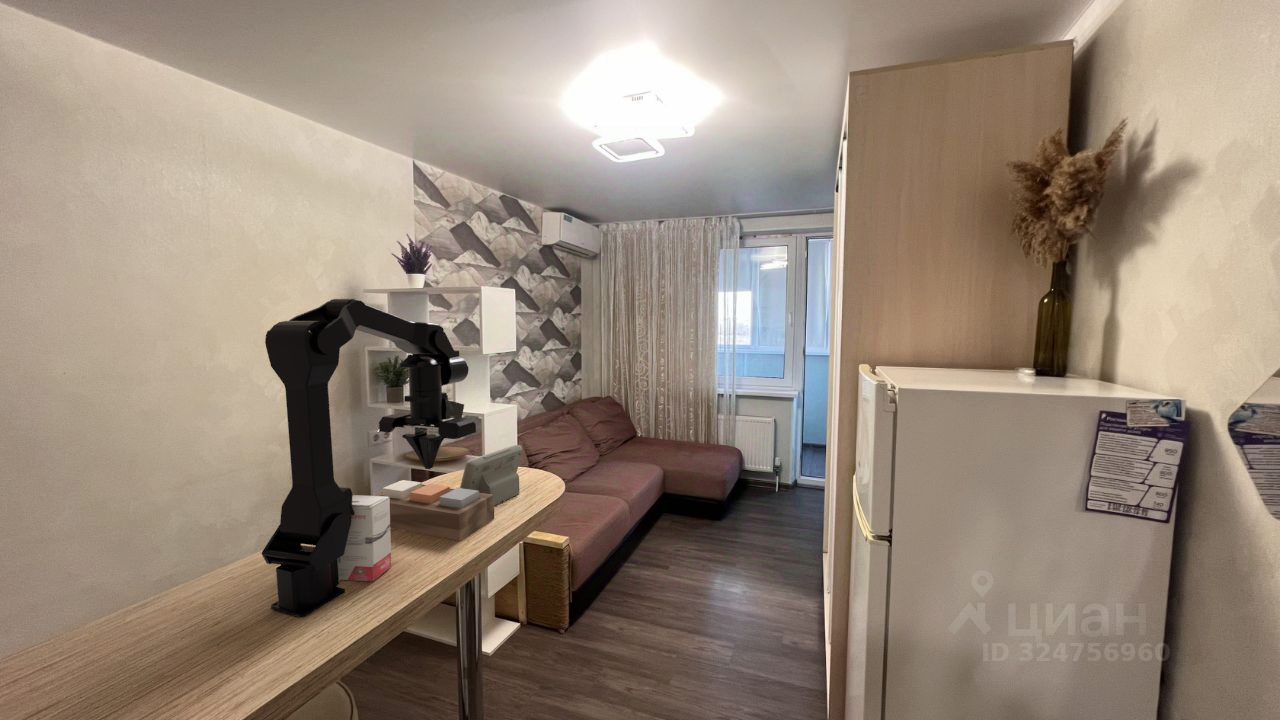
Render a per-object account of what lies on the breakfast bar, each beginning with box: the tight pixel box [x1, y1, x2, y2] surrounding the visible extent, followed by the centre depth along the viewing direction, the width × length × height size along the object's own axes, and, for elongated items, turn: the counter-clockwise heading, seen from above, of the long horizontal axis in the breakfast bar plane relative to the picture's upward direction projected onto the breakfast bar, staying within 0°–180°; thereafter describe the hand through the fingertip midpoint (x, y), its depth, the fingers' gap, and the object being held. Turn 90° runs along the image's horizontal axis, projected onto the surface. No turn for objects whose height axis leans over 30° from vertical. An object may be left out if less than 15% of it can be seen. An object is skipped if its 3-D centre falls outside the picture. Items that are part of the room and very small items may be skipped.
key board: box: [374, 483, 495, 542], centre depth 95 cm, size 10×22×5 cm, turn 71°
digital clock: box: [459, 444, 523, 506], centre depth 107 cm, size 16×9×11 cm, turn 140°
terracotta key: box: [410, 483, 451, 504], centre depth 94 cm, size 5×5×3 cm
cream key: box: [382, 479, 423, 499], centre depth 97 cm, size 5×5×3 cm
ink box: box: [337, 494, 392, 582], centre depth 76 cm, size 9×5×12 cm, turn 84°
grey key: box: [440, 487, 479, 509], centre depth 92 cm, size 5×5×3 cm
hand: (429, 468), depth 94 cm, fingers closed
